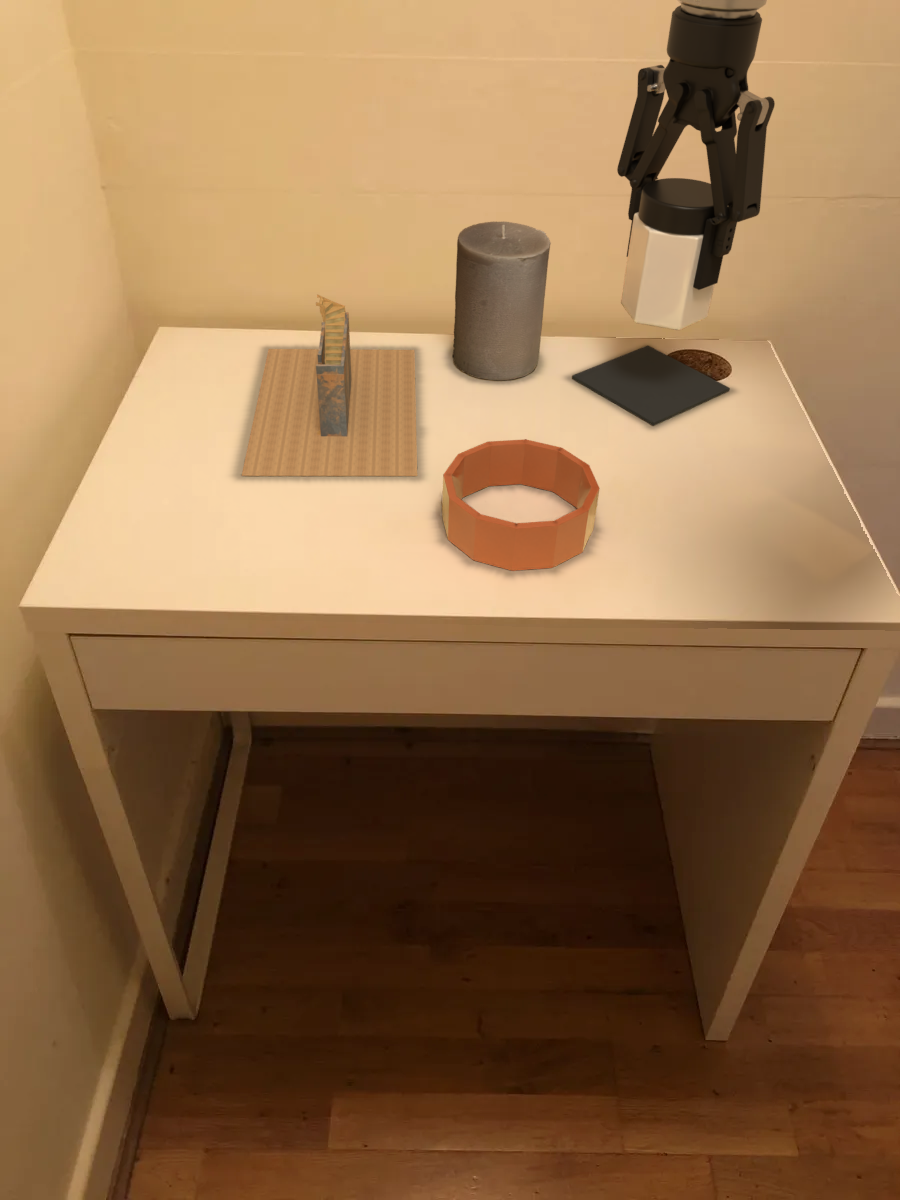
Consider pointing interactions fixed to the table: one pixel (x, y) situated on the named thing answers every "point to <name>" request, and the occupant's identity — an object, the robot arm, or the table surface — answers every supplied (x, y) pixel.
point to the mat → (650, 384)
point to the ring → (519, 540)
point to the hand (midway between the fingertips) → (670, 269)
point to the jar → (668, 254)
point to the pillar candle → (499, 299)
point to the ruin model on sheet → (335, 409)
